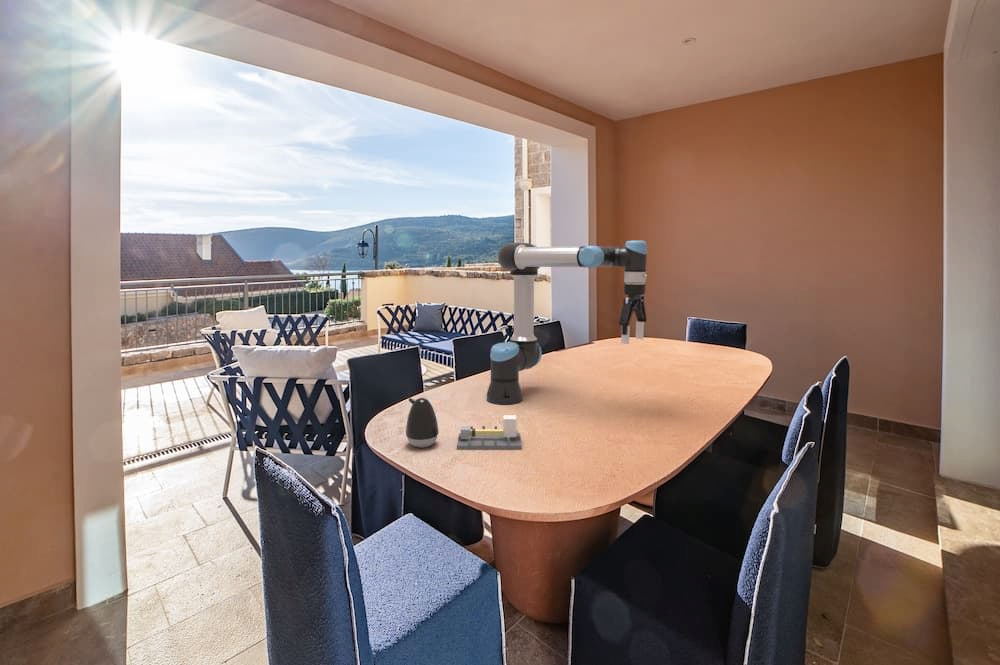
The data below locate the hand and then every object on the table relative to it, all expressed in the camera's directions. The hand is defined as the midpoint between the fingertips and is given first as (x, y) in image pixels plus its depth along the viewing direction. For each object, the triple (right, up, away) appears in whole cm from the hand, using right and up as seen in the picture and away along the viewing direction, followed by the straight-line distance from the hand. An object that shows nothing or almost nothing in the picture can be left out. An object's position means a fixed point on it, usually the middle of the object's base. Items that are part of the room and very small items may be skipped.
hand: (632, 341), depth 181 cm
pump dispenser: (-74, -32, -27) cm, 85 cm away
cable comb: (-52, -32, -25) cm, 66 cm away
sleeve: (-46, -29, -26) cm, 60 cm away
